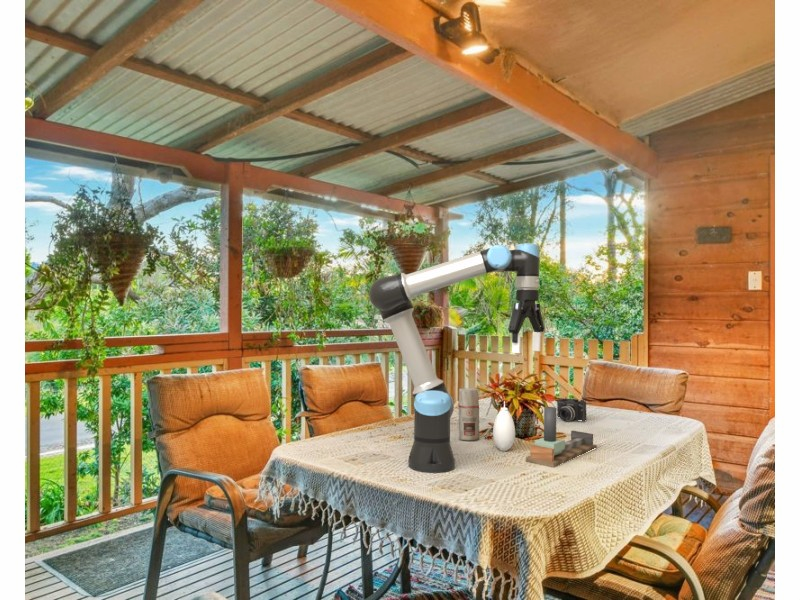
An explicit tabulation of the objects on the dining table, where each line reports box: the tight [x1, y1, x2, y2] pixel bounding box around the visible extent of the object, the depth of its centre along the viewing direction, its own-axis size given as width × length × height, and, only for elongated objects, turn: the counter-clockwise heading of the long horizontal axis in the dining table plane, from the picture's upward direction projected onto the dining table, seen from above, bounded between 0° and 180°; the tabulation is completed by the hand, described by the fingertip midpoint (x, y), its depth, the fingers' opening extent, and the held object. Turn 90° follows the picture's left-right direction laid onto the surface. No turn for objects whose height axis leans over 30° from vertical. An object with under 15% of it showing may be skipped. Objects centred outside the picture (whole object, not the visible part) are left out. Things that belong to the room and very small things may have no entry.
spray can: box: [458, 387, 480, 441], centre depth 218 cm, size 8×8×20 cm
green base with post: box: [534, 406, 566, 455], centre depth 189 cm, size 8×7×15 cm
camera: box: [556, 396, 587, 422], centre depth 258 cm, size 14×11×10 cm
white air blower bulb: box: [492, 400, 516, 452], centre depth 202 cm, size 8×8×18 cm
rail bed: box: [525, 430, 598, 468], centre depth 197 cm, size 34×10×6 cm, turn 138°
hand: (526, 351), depth 189 cm, fingers open, 13 cm apart
